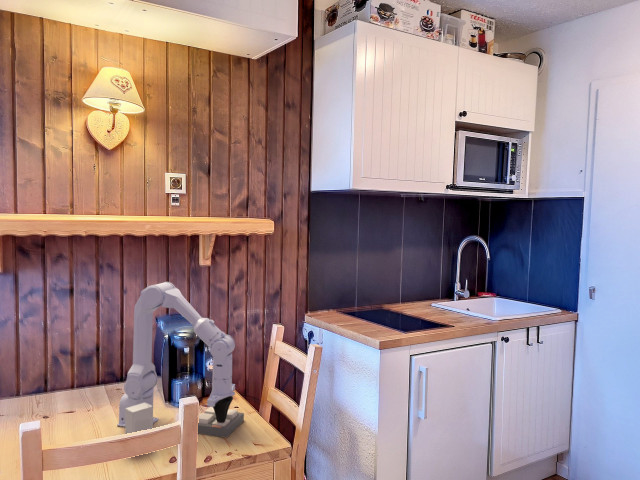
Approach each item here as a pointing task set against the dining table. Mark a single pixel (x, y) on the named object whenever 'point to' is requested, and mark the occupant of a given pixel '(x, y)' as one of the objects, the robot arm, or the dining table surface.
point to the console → (220, 430)
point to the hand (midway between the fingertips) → (221, 421)
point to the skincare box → (138, 418)
